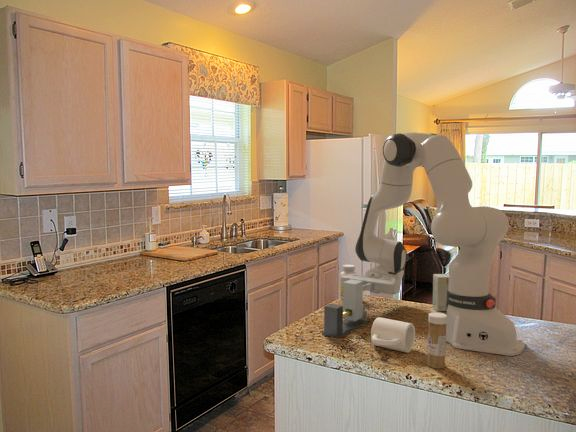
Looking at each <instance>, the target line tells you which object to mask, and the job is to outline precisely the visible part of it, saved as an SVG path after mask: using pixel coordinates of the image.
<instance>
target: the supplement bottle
mask: <svg viewBox="0 0 576 432" xmlns="http://www.w3.org/2000/svg"><path fill="white" fill-rule="evenodd" d="M355 269H356V265H355V264H342V270H343V271H341V272H340V273H339V279H340V278H341V276H343V275H347V274H358V273H357V272H356V271H355ZM339 298H341V300H343V287H342V286H341V285H340V284H339Z"/></svg>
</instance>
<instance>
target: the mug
mask: <svg viewBox="0 0 576 432" xmlns="http://www.w3.org/2000/svg"><path fill="white" fill-rule="evenodd" d="M414 325H415V324H413V323H412V322H406V321H401V320H395V319H391V318H385V317H379V316H378V317H376V318H375V320H374V321H373V323H372V326H371V329H370V341H371V344H372V345H374V346H377V347H381V348H385V349H389V350H395V351H397V352H402V353H410V352H411V351H412V350H413V347H414V343H415V341H416V340H415V339H416V329H415V326H414Z"/></svg>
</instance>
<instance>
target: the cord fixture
mask: <svg viewBox="0 0 576 432" xmlns="http://www.w3.org/2000/svg"><path fill="white" fill-rule="evenodd" d="M323 306H324V309H323V310H324V314H323V316H324V317H323V325H324V326H323V331H322V332H321V335H323V336H327V337H331V338H334V339H341V338H343V337H345V336H346V335H348V334H349V333H351V332H353V331H355V330H356V329H359V328H360V327H362V326H363V325H364V324H366V323H368V322H369V320H368V310H366V303H362V318H360V319H358V320H357V321H351V320H346V319H343V318H344V317H345V316H347V315H349V314H351V313H352V310H349V311H347V312H345V313H343V305H342V304H341V305H340V304H335V303H328V304H326V305H323Z"/></svg>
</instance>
